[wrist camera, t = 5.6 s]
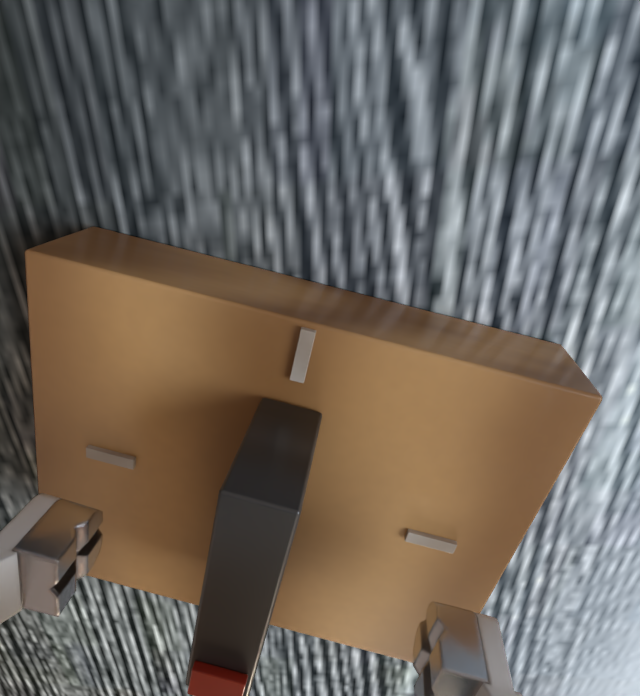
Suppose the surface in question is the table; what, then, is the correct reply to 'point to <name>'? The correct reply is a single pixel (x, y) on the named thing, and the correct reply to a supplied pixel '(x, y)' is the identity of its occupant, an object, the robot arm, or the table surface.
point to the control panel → (303, 391)
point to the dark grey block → (251, 547)
